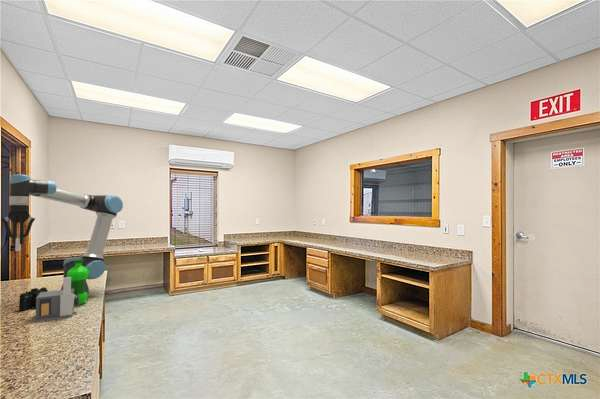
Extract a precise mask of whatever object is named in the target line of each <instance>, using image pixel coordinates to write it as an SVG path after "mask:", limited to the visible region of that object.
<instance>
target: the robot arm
mask: <svg viewBox="0 0 600 399" xmlns="http://www.w3.org/2000/svg"><path fill="white" fill-rule="evenodd" d="M30 196H32V197H38V198H41V199H47V200H50V201H51V200H52V201H55V202H60V203H64V204H68V205H73V206H77V207H79V208H81V209H82V210H87V211H91V212H94V213H95V215H96V220H95V224H94V227H93V230H92V234H91V237H90V240H89V244H88V246H87V250H86V253H84V254H83V255H82V256H77V257H70V258H69V257H68V258H65V259H64V260H63V264H62V266H63V275H62V276H63V278H66V277H67V273H68V271H69V270H70V269H71V268H73V267H74V266H75V263H74V260H75V259H83V263H82V266H84V267H85V268H87V269H88V271H89V276H88V278H87V279H86V280H96V279H99V278H100V277H101V276H103V275H104V273H105V271H106V264H105V262H104V259H105V258H104V256H103V254H104V249H105V247H106V244H107V239H108V237H109V234H110V229H111V226H112V222H113V219H115V218H116V217H117V214H118V213H120V212H121V211H123V209H124V208H123V207H124V203H123V201H122V198H120V196H118V195H114V194H105V195H104V194H103V195H102V194H101V195H100V194H99V195H98V194H97V195H91V194H86V193H85V194H81V193H77V192H74V191H73V192H72V191H69V190H65V189H63V188H58V186H57V184H56V182H55V181H53V180H44V179H43V180H42V179H41V180H39V179H32V178H31V176H30V175H29V174H11V175H10V179H9V200H8V201H9V203H8V204H10V205H8V214H7V215H6V217H2V218H1V219H0V220H1V221H2V222H3V224H4V227H5V230H6V234H7V238H12V245H15V247H14V248H15V250H14V251H15V252H19V251H21V247H22V246H21V245H23V244H24V238H26V237H28V236H29V234H30V231H31V228H32V226H33V223H34V222H35V221H36V218H35V217H32V216H31V214H30ZM9 220H10V221H11V222H12V228H11V226H10V222H9ZM27 220H28V224H27V227H26V228H25V222H26V221H27ZM18 224H19V236H18ZM11 229H12V230H11ZM60 290H63V284H61V288H60ZM86 292H87V294H88V293H89V292H90V288H89V285H88V282H87V281H86Z"/></svg>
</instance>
